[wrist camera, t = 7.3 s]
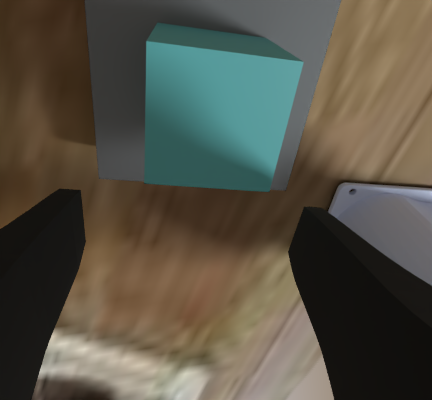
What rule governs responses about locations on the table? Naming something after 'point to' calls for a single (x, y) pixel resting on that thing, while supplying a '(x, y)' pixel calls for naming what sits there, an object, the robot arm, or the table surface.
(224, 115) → the teal block
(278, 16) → the block
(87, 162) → the table surface
